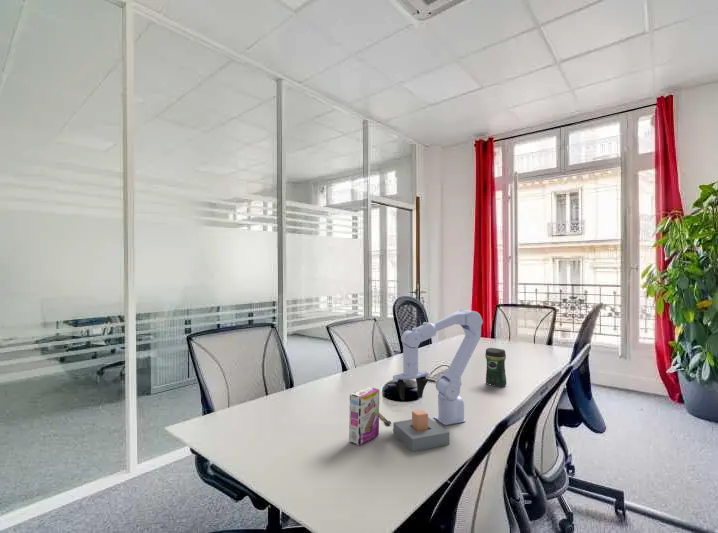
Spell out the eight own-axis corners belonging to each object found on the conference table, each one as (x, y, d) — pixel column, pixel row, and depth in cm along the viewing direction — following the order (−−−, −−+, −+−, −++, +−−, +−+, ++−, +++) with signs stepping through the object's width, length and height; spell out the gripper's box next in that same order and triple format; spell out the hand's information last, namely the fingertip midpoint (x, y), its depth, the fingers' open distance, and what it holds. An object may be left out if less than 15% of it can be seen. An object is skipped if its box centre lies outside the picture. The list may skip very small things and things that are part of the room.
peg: (422, 435, 129) (421, 409, 129) (428, 439, 125) (427, 413, 125) (412, 436, 127) (412, 411, 127) (417, 441, 124) (417, 415, 124)
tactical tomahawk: (360, 410, 155) (360, 407, 155) (374, 407, 157) (374, 404, 157) (377, 429, 135) (376, 426, 135) (393, 425, 137) (393, 422, 137)
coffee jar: (508, 385, 185) (508, 348, 186) (501, 388, 180) (501, 351, 180) (490, 381, 192) (490, 346, 193) (483, 384, 187) (482, 348, 187)
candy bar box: (360, 447, 120) (360, 397, 120) (348, 442, 123) (348, 394, 124) (380, 435, 129) (379, 388, 129) (369, 431, 132) (368, 386, 132)
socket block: (427, 427, 135) (427, 416, 135) (449, 444, 122) (449, 432, 122) (393, 433, 130) (393, 422, 130) (412, 451, 117) (412, 439, 117)
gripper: (421, 358, 146) (421, 392, 145) (389, 362, 140) (389, 397, 140) (431, 362, 139) (431, 398, 139) (397, 366, 134) (398, 403, 133)
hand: (411, 398), depth 139 cm, fingers open, 7 cm apart
